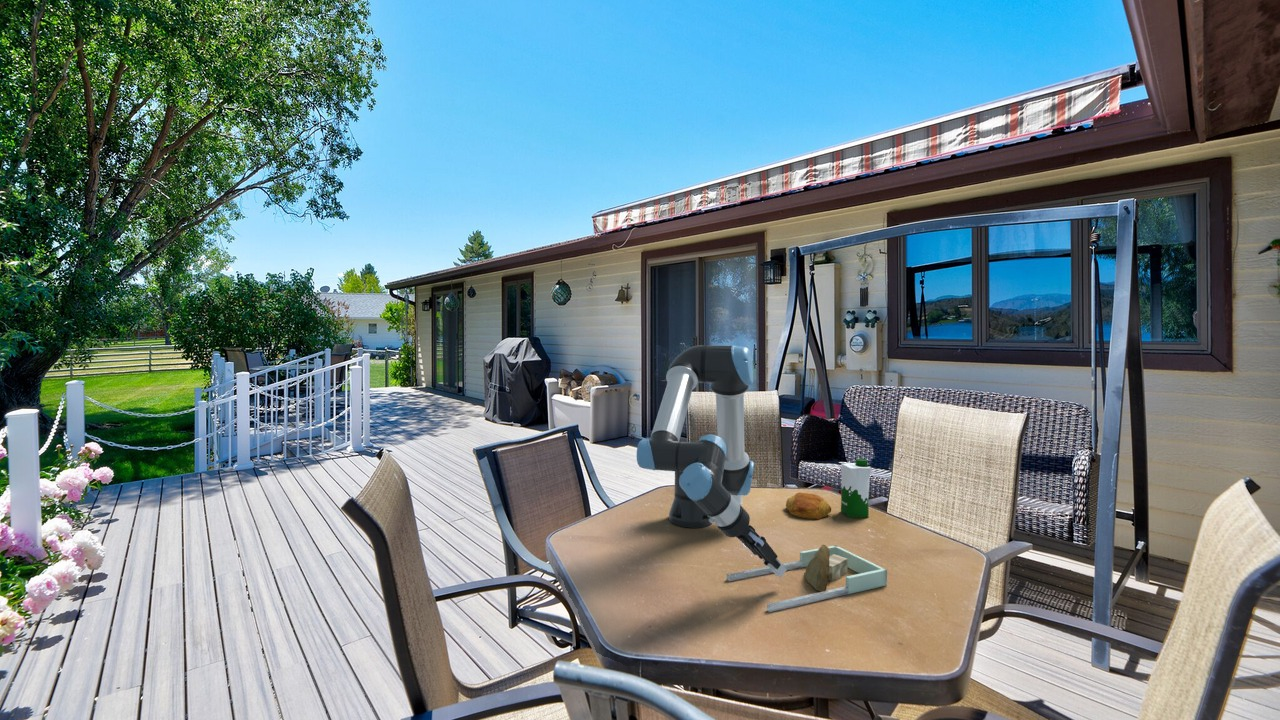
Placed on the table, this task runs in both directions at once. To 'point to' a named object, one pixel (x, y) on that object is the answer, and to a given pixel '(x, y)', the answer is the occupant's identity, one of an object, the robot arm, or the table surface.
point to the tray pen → (868, 571)
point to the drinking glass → (738, 498)
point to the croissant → (808, 506)
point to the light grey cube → (834, 570)
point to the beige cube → (842, 561)
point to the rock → (819, 569)
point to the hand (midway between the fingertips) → (782, 572)
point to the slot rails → (793, 601)
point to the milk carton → (855, 489)
